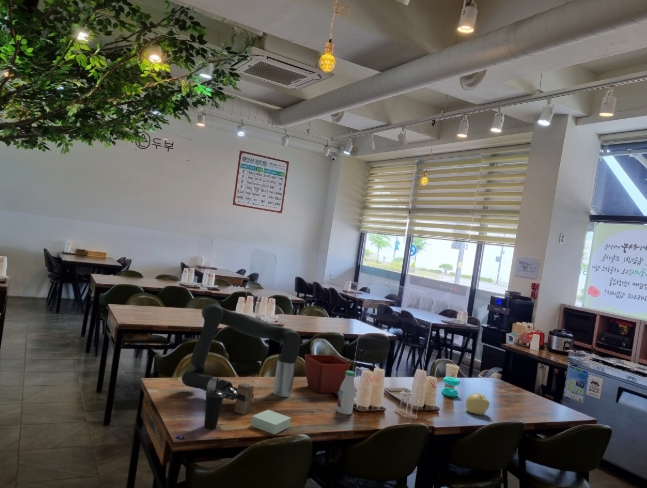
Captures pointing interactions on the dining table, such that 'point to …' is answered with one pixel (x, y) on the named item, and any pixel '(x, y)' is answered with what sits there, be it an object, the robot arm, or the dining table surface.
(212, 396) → the drinking cup
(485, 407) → the pale yellow round lump
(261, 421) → the base slab
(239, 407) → the walnut block
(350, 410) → the milk bottle
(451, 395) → the donuts
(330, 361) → the plant pot
